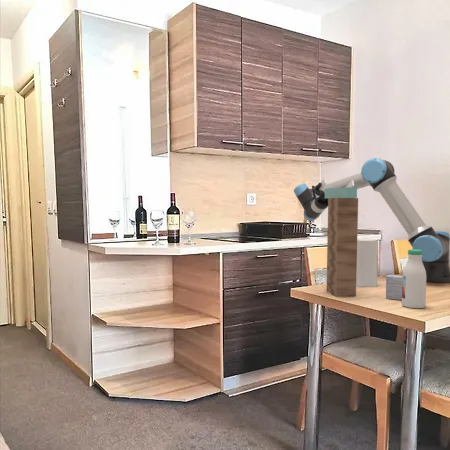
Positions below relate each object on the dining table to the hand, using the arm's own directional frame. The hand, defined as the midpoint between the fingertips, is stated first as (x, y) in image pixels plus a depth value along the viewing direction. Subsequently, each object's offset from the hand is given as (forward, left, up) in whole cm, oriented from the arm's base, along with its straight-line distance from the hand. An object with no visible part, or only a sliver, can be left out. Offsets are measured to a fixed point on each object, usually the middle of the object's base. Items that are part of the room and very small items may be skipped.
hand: (339, 181), depth 198 cm
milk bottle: (-34, +37, -46) cm, 68 cm away
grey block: (-12, +3, -46) cm, 48 cm away
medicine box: (-28, +27, -46) cm, 60 cm away
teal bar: (-6, +26, -8) cm, 27 cm away
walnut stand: (-7, +28, -46) cm, 54 cm away
